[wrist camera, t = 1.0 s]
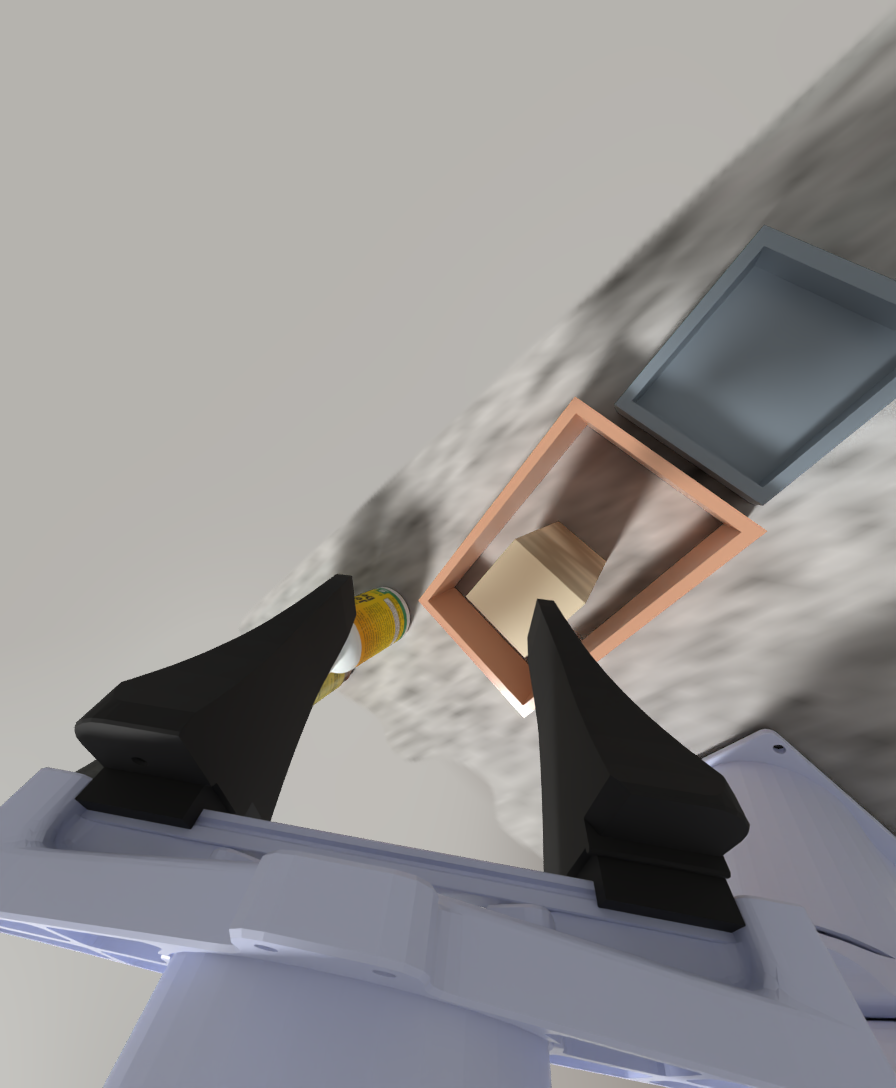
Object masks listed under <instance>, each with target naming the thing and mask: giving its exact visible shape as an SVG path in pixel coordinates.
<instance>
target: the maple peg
mask: <svg viewBox="0 0 896 1088" xmlns="http://www.w3.org/2000/svg"><path fill="white" fill-rule="evenodd" d="M605 563H606V561H605V560H604V559H603V558H601V557H600V556H599V555H598V554H597V553H596V552H594V551H593V550H592V549H591V548H590V547H588V546H587V545H586V544H585V543H584V542H583V541H581V540H580V539H579V538H578V537H577V536H576V535H574V534H573V533H572V532H571V531H570V530H568V529H567V528H566V527H565V526H564V525H563V524H561V523H560V522H559V521H558V522H555V523H553V524H550V525H548V526H546V527H543V528H541V529H538V530H536V531H534V532H531V533H529V534H526V535H524V536H522V537H519V538H517V539H515V540H514V541H513V542H512V543H511V545H510V546H509V547H508V548H507V549H506V550H505V552H504V553H503V554H502V555H501V556H500V557H499V559H498V560H497V561H496V562H495V563H494V564H493V565H492V567H491V568H490V569H489V570H488V571H487V572H486V574H485V575H484V576H483V577H482V578H481V579H480V581H479V582H478V583H477V584H476V585H475V586H474V588H473V589H472V590H471V591H470V592H469V593H468V595H467V596H466V597H467V598H468V599H469V600H470V601H471V602H472V604H473V605H474V606H475V607H476V608H477V609H478V610H479V611H480V612H481V613H482V614H483V615H484V616H485V617H486V618H487V619H488V620H489V621H490V622H491V623H492V624H493V625H494V626H495V627H496V628H497V630H498V631H499V632H500V633H501V634H502V635H503V636H504V637H505V638H506V639H507V640H508V641H509V642H510V643H511V644H512V645H513V646H514V647H515V648H516V649H517V650H518V651H519V652H520V653H521V654H522V656H523V657H524V658H525V657H526V656H527V655H528V644H527V637H528V633H529V629H530V625H531V621H532V617H533V613H534V609H535V605H536V601H537V599H545V600H553V601H554V602H555V603H556V604H557V606H558V608H559V609H560V611H561V612H562V614H563V616H564V617H565V619H566V620H568V619H569V618H570V617H571V616H572V615H573V614H574V613H575V612H576V611H578V610H579V609H580V608H581V607H582V606H583V605H584V604H585V603H586V601H587V599H588V597H589V595H590V593H591V591H592V589H593V587H594V585H595V583H596V581H597V579H598V577H599V575H600V573H601V571H602V569H603V567H604V565H605Z"/></svg>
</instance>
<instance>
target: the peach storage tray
mask: <svg viewBox="0 0 896 1088" xmlns="http://www.w3.org/2000/svg"><path fill="white" fill-rule="evenodd" d="M587 425H588V426H589V427H590V428H592V429H593V430H595V431H596V432H597V433H599V434H600V435H602V436H603V437H604V438H606V439H607V440H608V441H610V442H611V443H613V444H614V445H615V446H617V447H618V448H620V449H621V450H622V451H624V452H625V453H626V454H628V455H629V456H631V457H632V458H633V459H635V460H636V461H638V462H639V463H640V464H642V465H643V466H644V467H646V468H647V469H649V470H650V471H651V472H653V473H654V474H656V475H657V476H658V477H660V478H661V479H662V480H664V481H665V482H667V483H668V484H669V485H671V486H672V487H674V488H675V489H676V490H678V491H679V492H680V493H682V494H683V495H685V496H686V497H687V498H689V499H690V500H692V501H693V502H694V503H696V504H697V505H698V506H700V507H701V508H703V509H704V510H705V511H707V512H708V513H710V514H711V515H712V516H714V517H715V518H716V519H718V520H719V521H721V522H722V523H723V524H722V525H721V526H720V527H719V528H717V529H716V530H715V531H714V532H713V533H711V534H710V535H709V536H708V537H707V538H705V539H704V540H703V541H702V542H701V543H699V544H698V545H697V546H696V547H695V548H693V549H692V550H691V551H690V552H689V553H687V554H686V555H685V556H684V557H682V558H681V559H680V560H679V561H678V562H676V563H675V564H674V565H673V566H672V567H670V568H669V569H668V570H667V571H666V572H664V573H663V574H662V575H661V576H660V577H658V578H657V579H656V580H655V581H653V582H652V583H651V584H650V585H649V586H647V587H646V588H645V589H644V590H643V591H641V592H640V593H639V594H638V595H637V596H635V597H634V598H633V599H632V600H631V601H629V602H628V603H627V604H626V605H625V606H623V607H622V608H621V609H620V610H618V611H617V612H616V613H615V614H614V615H612V616H611V617H610V618H609V619H608V620H606V621H605V622H604V623H603V624H602V625H600V626H599V627H598V628H597V629H596V630H594V631H593V632H592V633H591V634H589V635H588V636H587V637H586V638H585V639H583V640H582V641H581V642H582V643H583V645H584V646H585V648H586V649H587V650H588V652H589V653H590V654H591V655H592V657H593V658H594V659H595V660H596V662H597V661H599V660H600V659H601V658H603V657H604V656H605V655H607V654H608V653H609V652H610V651H612V650H613V649H614V648H616V647H617V646H618V645H620V644H621V643H622V642H623V641H625V640H626V639H627V638H629V637H630V636H631V635H633V634H634V633H635V632H637V631H638V630H639V629H640V628H642V627H643V626H644V625H646V624H647V623H648V622H650V621H651V620H652V619H653V618H655V617H656V616H657V615H659V614H660V613H661V612H663V611H664V610H665V609H667V608H668V607H669V606H670V605H672V604H673V603H674V602H676V601H677V600H678V599H680V598H681V597H682V596H683V595H685V594H686V593H687V592H689V591H690V590H691V589H693V588H694V587H695V586H697V585H698V584H699V583H700V582H702V581H703V580H704V579H706V578H707V577H708V576H710V575H711V574H712V573H713V572H715V571H716V570H717V569H719V568H720V567H721V566H723V565H724V564H725V563H726V562H728V561H729V560H730V559H732V558H733V557H734V556H736V555H737V554H738V553H740V552H741V551H742V550H743V549H745V548H746V547H747V546H749V545H750V544H751V543H753V542H754V541H755V540H756V539H758V538H759V537H760V536H762V535H763V534H764V533H766V532H767V531H766V530H765V529H763V528H762V527H761V526H759V525H758V524H756V523H755V522H753V521H752V520H751V519H749V518H748V517H746V516H745V515H743V514H742V513H741V512H739V511H738V510H736V509H735V508H733V507H732V506H731V505H729V504H728V503H726V502H725V501H724V500H722V499H721V498H719V497H718V496H716V495H715V494H714V493H712V492H711V491H709V490H708V489H706V488H705V487H704V486H702V485H701V484H699V483H698V482H696V481H695V480H694V479H692V478H691V477H689V476H688V475H686V474H685V473H684V472H682V471H681V470H679V469H678V468H676V467H675V466H674V465H672V464H671V463H669V462H668V461H666V460H665V459H664V458H662V457H661V456H659V455H658V454H656V453H655V452H654V451H652V450H651V449H649V448H648V447H646V446H645V445H644V444H642V443H641V442H639V441H638V440H636V439H635V438H634V437H632V436H631V435H629V434H628V433H626V432H625V431H624V430H622V429H621V428H619V427H618V426H616V425H615V424H614V423H612V422H611V421H609V420H608V419H607V418H605V417H604V416H602V415H601V414H599V413H598V412H597V411H595V410H594V409H592V408H591V407H589V406H588V405H587V404H585V403H584V402H582V401H581V400H579V399H578V398H577V397H574V398H573V400H572V401H571V402H570V404H569V405H568V406H567V408H566V409H565V410H564V411H563V413H562V414H561V415H560V417H559V418H558V419H557V421H556V422H555V423H554V424H553V426H552V427H551V428H550V430H549V431H548V432H547V434H546V435H545V436H544V437H543V439H542V440H541V441H540V443H539V444H538V445H537V447H536V448H535V449H534V450H533V452H532V453H531V454H530V456H529V457H528V458H527V460H526V461H525V462H524V464H523V465H522V466H521V467H520V469H519V470H518V471H517V473H516V474H515V475H514V477H513V478H512V479H511V480H510V482H509V483H508V484H507V486H506V487H505V488H504V490H503V491H502V492H501V493H500V495H499V496H498V497H497V499H496V500H495V501H494V503H493V504H492V505H491V506H490V508H489V509H488V510H487V512H486V513H485V514H484V516H483V517H482V518H481V519H480V521H479V522H478V523H477V525H476V526H475V527H474V529H473V530H472V531H471V533H470V534H469V535H468V536H467V538H466V539H465V540H464V542H463V543H462V544H461V546H460V547H459V548H458V549H457V551H456V552H455V553H454V555H453V556H452V557H451V559H450V560H449V561H448V562H447V564H446V565H445V566H444V568H443V569H442V570H441V572H440V573H439V574H438V575H437V577H436V578H435V579H434V581H433V582H432V583H431V585H430V586H429V587H428V589H427V590H426V591H425V592H424V594H423V595H422V596H421V598H420V599H419V600H418V601H419V602H420V603H421V604H422V605H423V606H424V607H425V608H426V610H427V611H428V612H429V613H430V614H431V615H432V616H433V617H434V618H435V620H436V621H437V622H438V623H439V624H440V625H441V626H442V627H443V628H444V630H445V631H446V632H447V633H448V634H449V635H450V636H451V637H452V638H453V640H454V641H455V642H456V643H457V644H458V645H459V646H460V647H461V648H462V650H463V651H464V652H465V653H466V654H467V655H468V656H469V657H470V658H471V660H472V661H473V662H474V663H475V664H476V665H477V666H478V667H479V668H480V670H481V671H482V672H483V673H484V674H485V675H486V676H487V677H488V678H489V680H490V681H491V682H492V683H493V684H494V685H495V686H496V687H497V688H498V690H499V691H500V692H501V693H502V694H503V695H504V696H505V697H506V699H507V700H508V701H509V702H510V703H511V704H512V705H513V706H514V707H515V709H516V710H517V711H518V712H519V713H520V714H521V715H522V716H523V717H526V716H527V715H528V714H530V713H531V712H532V711H534V710H535V703H534V697H533V691H532V684H531V678H530V671H529V665H528V663H527V662H526V661H525V660H524V659H523V658H522V657H521V656H520V655H519V654H518V653H517V652H516V651H515V650H514V649H513V648H512V647H511V646H510V645H509V644H508V643H507V642H506V640H505V639H504V638H503V637H502V636H501V635H500V634H499V633H498V632H497V631H496V630H495V629H494V628H493V627H492V626H491V625H490V624H489V623H488V622H487V621H486V620H485V619H484V617H483V616H482V615H481V614H480V613H479V612H478V611H477V610H476V609H475V608H474V607H473V606H472V605H471V604H470V603H469V602H468V601H467V600H466V599H465V598H464V597H463V595H462V594H461V593H460V592H459V591H458V590H457V589H456V588H455V586H456V584H457V583H458V582H459V581H460V579H461V578H462V577H463V576H464V575H465V573H466V572H467V571H468V570H469V569H470V567H471V566H472V565H473V564H474V562H475V561H476V560H477V559H478V558H479V556H480V555H481V554H482V553H483V551H484V550H485V549H486V548H487V547H488V545H489V544H490V543H491V542H492V540H493V539H494V538H495V537H496V536H497V534H498V533H499V532H500V531H501V529H502V528H503V527H504V526H505V525H506V523H507V522H508V521H509V520H510V518H511V517H512V516H513V515H514V514H515V512H516V511H517V510H518V509H519V508H520V506H521V505H522V504H523V503H524V501H525V500H526V499H527V498H528V497H529V495H530V494H531V493H532V492H533V490H534V489H535V488H536V487H537V486H538V484H539V483H540V482H541V481H542V479H543V478H544V477H545V476H546V475H547V473H548V472H549V471H550V470H551V468H552V467H553V466H554V465H555V464H556V462H557V461H558V460H559V459H560V458H561V456H562V455H563V454H564V453H565V451H566V450H567V449H568V448H569V447H570V445H571V444H572V443H573V442H574V440H575V439H576V438H577V437H578V436H579V434H580V433H581V432H582V431H583V429H584V428H585V427H586V426H587Z"/></svg>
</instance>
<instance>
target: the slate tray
mask: <svg viewBox="0 0 896 1088" xmlns="http://www.w3.org/2000/svg"><path fill="white" fill-rule="evenodd" d="M895 398H896V281H895V280H893V279H890V278H888V277H886V276H883V275H881V274H879V273H876V272H874V271H872V270H869V269H867V268H865V267H862V266H860V265H858V264H855V263H853V262H851V261H848V260H846V259H844V258H841V257H839V256H836V255H834V254H832V253H829V252H827V251H825V250H822V249H820V248H818V247H815V246H813V245H811V244H808V243H806V242H804V241H801V240H799V239H797V238H794V237H792V236H790V235H787V234H785V233H783V232H780V231H778V230H775V229H773V228H771V227H768V226H766V225H764V226H763V227H762V228H761V229H760V230H759V232H758V233H757V234H756V235H755V236H754V238H753V239H752V240H751V241H750V242H749V244H748V245H747V246H746V247H745V248H744V250H743V251H742V252H741V253H740V254H739V256H738V257H737V258H736V259H735V260H734V262H733V263H732V264H731V265H730V266H729V268H728V269H727V270H726V271H725V272H724V274H723V275H722V276H721V277H720V278H719V280H718V281H717V282H716V283H715V284H714V286H713V287H712V288H711V289H710V290H709V292H708V293H707V294H706V295H705V296H704V298H703V299H702V300H701V301H700V302H699V304H698V305H697V306H696V307H695V308H694V310H693V311H692V312H691V313H690V314H689V316H688V317H687V318H686V319H685V320H684V322H683V323H682V324H681V325H680V326H679V328H678V329H677V330H676V331H675V332H674V333H673V335H672V336H671V337H670V338H669V339H668V341H667V342H666V343H665V344H664V345H663V347H662V348H661V349H660V350H659V351H658V353H657V354H656V355H655V356H654V357H653V359H652V360H651V361H650V362H649V363H648V365H647V366H646V367H645V368H644V369H643V371H642V372H641V373H640V374H639V375H638V377H637V378H636V379H635V380H634V381H633V383H632V384H631V385H630V386H629V387H628V389H627V390H626V391H625V392H624V393H623V395H622V396H621V397H620V398H619V399H618V401H617V402H616V403H615V404H614V405H615V408H616V411H617V412H618V413H619V414H621V415H622V416H624V417H625V418H627V419H628V420H630V421H631V422H633V423H634V424H635V425H637V426H638V427H640V428H641V429H643V430H644V431H646V432H647V433H649V434H650V435H652V436H653V437H654V438H656V439H657V440H659V441H660V442H662V443H663V444H665V445H666V446H668V447H669V448H670V449H672V450H673V451H675V452H676V453H678V454H679V455H681V456H682V457H684V458H685V459H686V460H688V461H689V462H691V463H692V464H694V465H695V466H697V467H698V468H700V469H701V470H703V471H704V472H705V473H707V474H708V475H710V476H711V477H713V478H714V479H716V480H717V481H719V482H720V483H721V484H723V485H724V486H726V487H727V488H729V489H730V490H732V491H733V492H735V493H736V494H737V495H739V496H740V497H742V498H743V499H745V500H746V501H748V502H749V503H751V504H756V505H762V506H763V505H764V504H765V503H767V502H768V501H769V500H770V499H772V498H773V497H774V496H775V495H777V494H778V493H779V492H780V491H782V490H783V489H784V488H785V487H786V486H788V485H789V484H790V483H791V482H793V481H794V480H795V479H796V478H798V477H799V476H800V475H801V474H803V473H804V472H805V471H806V470H808V469H809V468H810V467H811V466H812V465H814V464H815V463H816V462H817V461H819V460H820V459H821V458H822V457H824V456H825V455H826V454H827V453H829V452H830V451H831V450H832V449H834V448H835V447H836V446H837V445H838V444H840V443H841V442H842V441H843V440H845V439H846V438H847V437H848V436H850V435H851V434H852V433H853V432H855V431H856V430H857V429H858V428H860V427H861V426H862V425H863V424H865V423H866V422H867V421H868V420H869V419H871V418H872V417H873V416H874V415H876V414H877V413H878V412H879V411H881V410H882V409H883V408H884V407H886V406H887V405H888V404H889V403H891V402H892V401H893V400H894V399H895Z"/></svg>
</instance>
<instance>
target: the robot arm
mask: <svg viewBox="0 0 896 1088" xmlns="http://www.w3.org/2000/svg"><path fill="white" fill-rule="evenodd" d="M355 618H356V606H355V598H354V590H353V581H352V576H348V575H340V574H336V575H335V576H333V577H332V578H331V579H329V580H328V581H326V582H325V583H324V584H322V585H321V586H319V587H318V588H317V589H315V590H314V591H312V592H311V593H310V594H308V595H307V596H305V597H304V598H302V599H301V600H300V601H298V602H297V603H295V604H294V605H292V606H291V607H289V608H288V609H286V610H284V611H283V612H281V613H280V614H278V615H277V616H275V617H273V618H272V619H270V620H269V621H267V622H265V623H263V624H262V625H260V626H258V627H256V628H255V629H253V630H251V631H249V632H247V633H245V634H243V635H241V636H239V637H237V638H235V639H233V640H231V641H229V642H227V643H225V644H222V645H220V646H219V647H216V648H214V649H212V650H209V651H207V652H205V653H202V654H200V655H197V656H195V657H193V658H190V659H187V660H185V661H182V662H180V663H177V664H174V665H172V666H169V667H166V668H163V669H160V670H157V671H154V672H151V673H148V674H145V675H142V676H139V677H136V678H133V679H130V680H127V681H123V682H121V683H120V684H119V685H118V686H116V687H115V688H114V689H113V690H112V691H111V692H110V693H109V694H107V695H106V696H105V697H104V698H103V699H102V700H101V701H100V702H99V703H97V704H96V705H95V706H94V707H93V708H92V709H91V710H90V711H89V712H87V713H86V714H85V715H84V716H83V717H82V718H81V719H80V720H79V721H77V722H76V725H75V734H76V737H77V738H78V740H79V741H80V742H81V744H82V745H83V746H84V747H85V748H86V749H87V750H88V751H89V752H90V753H91V754H92V755H93V756H94V757H95V758H96V759H97V760H98V761H99V762H100V764H101V765H102V766H103V767H104V768H103V769H102V770H101V771H100V772H99V773H98V774H97V775H96V776H95V777H94V778H93V779H92V778H91V777H89V776H86V775H84V774H81V773H76V772H71V771H65V770H59V769H54V768H48V767H46V768H42V769H41V770H40V771H38V772H37V773H36V774H35V775H34V776H33V777H32V778H31V779H30V780H29V781H28V782H26V783H25V784H24V785H23V786H22V787H21V788H20V789H19V790H18V791H17V792H16V793H15V794H14V795H12V796H11V797H10V798H9V799H8V800H7V801H6V802H5V803H4V804H3V805H2V806H1V807H0V933H4V934H8V935H13V936H17V937H21V938H25V939H30V940H34V941H38V942H42V943H46V944H50V945H54V946H58V947H62V948H66V949H70V950H73V951H77V952H81V953H85V954H89V955H93V956H97V957H101V958H105V959H108V960H112V961H116V962H120V963H124V964H127V965H131V966H136V967H139V968H143V969H147V970H150V971H154V972H158V973H162V974H163V975H162V976H161V978H160V980H159V982H158V984H157V986H156V988H155V990H154V991H153V993H152V995H151V997H150V999H149V1001H148V1003H147V1005H146V1007H145V1008H144V1010H143V1012H142V1014H141V1016H140V1018H139V1020H138V1022H137V1024H136V1025H135V1027H134V1029H133V1031H132V1033H131V1035H130V1037H129V1039H128V1041H127V1042H126V1044H125V1046H124V1048H123V1050H122V1052H121V1054H120V1056H119V1057H118V1059H117V1062H116V1063H115V1065H114V1067H113V1069H112V1071H111V1072H110V1075H109V1076H108V1078H107V1080H106V1082H105V1084H104V1086H103V1088H552V1086H551V1071H550V1064H554V1065H559V1066H564V1067H569V1068H574V1069H579V1070H584V1071H589V1072H594V1073H599V1074H604V1075H609V1076H614V1077H619V1078H624V1079H629V1080H634V1081H639V1082H644V1083H649V1084H654V1085H659V1086H664V1087H669V1088H896V836H894V835H893V834H892V833H891V832H890V831H889V830H888V829H886V828H885V827H884V826H883V825H882V824H881V823H880V822H878V821H877V820H876V819H875V818H874V817H873V816H872V815H870V814H869V813H868V812H867V811H866V810H865V809H864V808H862V807H861V806H860V805H859V804H858V803H857V802H856V801H854V800H853V799H852V798H851V797H850V796H849V795H848V794H846V793H845V792H844V791H843V790H842V789H841V788H840V787H838V786H837V785H836V784H835V783H834V782H833V781H832V780H830V779H829V778H828V777H827V776H826V775H825V774H824V773H822V772H821V771H820V770H819V769H818V768H817V767H816V766H814V765H813V764H812V763H811V762H810V761H809V760H808V759H806V758H805V757H804V756H803V755H802V754H801V753H800V752H798V751H797V750H796V749H795V748H794V747H793V746H792V745H790V744H789V743H788V742H787V741H786V740H785V739H784V738H782V737H781V736H780V735H779V734H778V733H776V732H775V731H773V730H770V729H761V730H759V731H757V732H755V733H753V734H751V735H749V736H747V737H745V738H743V739H741V740H739V741H737V742H735V743H733V744H731V745H729V746H727V747H725V748H723V749H721V750H718V751H716V752H714V753H712V754H710V755H708V756H706V757H704V758H702V759H700V758H699V757H698V756H696V755H695V754H694V753H692V752H691V751H690V750H688V749H687V748H686V747H684V746H683V745H682V744H681V743H679V742H678V741H677V740H676V739H675V738H673V737H672V736H671V735H670V734H669V733H667V732H666V731H665V730H664V729H663V728H661V727H660V726H659V725H658V724H657V723H656V722H655V721H653V720H652V719H651V718H650V717H649V716H648V715H647V714H646V713H645V712H644V711H643V710H641V709H640V708H639V707H638V706H637V705H636V704H635V703H634V702H633V701H632V700H631V699H630V698H629V697H628V696H627V695H626V694H625V693H624V692H623V691H622V690H621V689H620V688H619V687H618V686H617V685H616V684H615V683H614V681H613V680H612V679H611V678H610V677H609V676H608V675H607V674H606V673H605V671H604V670H603V669H602V668H601V667H600V665H599V664H598V663H597V662H596V660H595V659H594V658H593V657H592V655H591V654H590V653H589V652H588V650H587V649H586V648H585V646H584V645H583V643H582V642H581V641H580V639H579V638H578V636H577V635H576V634H575V632H574V631H573V629H572V628H571V626H570V625H569V623H568V622H567V620H566V619H565V617H564V616H563V614H562V612H561V611H560V609H559V608H558V606H557V604H556V603H555V602H554V601H553V600H545V599H537V601H536V605H535V609H534V613H533V617H532V621H531V625H530V629H529V633H528V637H527V644H528V665H529V671H530V678H531V684H532V691H533V697H534V703H535V710H536V716H537V723H538V732H539V747H540V764H541V786H542V813H543V857H544V872H541V871H535V870H530V869H525V868H519V867H514V866H508V865H503V864H498V863H492V862H487V861H481V860H476V859H471V858H465V857H459V856H454V855H449V854H444V853H438V852H433V851H428V850H421V849H417V848H411V847H406V846H401V845H395V844H389V843H384V842H379V841H374V840H368V839H362V838H358V837H352V836H347V835H341V834H336V833H331V832H325V831H319V830H314V829H309V828H303V827H298V826H293V825H287V824H282V823H277V822H271V817H272V815H273V812H274V809H275V806H276V803H277V800H278V797H279V794H280V791H281V788H282V785H283V782H284V779H285V776H286V774H287V771H288V768H289V766H290V763H291V760H292V757H293V755H294V752H295V749H296V746H297V744H298V741H299V739H300V736H301V734H302V731H303V728H304V726H305V724H306V721H307V719H308V716H309V714H310V711H311V709H312V707H313V704H314V702H315V700H316V697H317V695H318V693H319V691H320V689H321V687H322V685H323V683H324V682H325V680H326V678H327V676H328V674H329V672H330V670H331V669H332V667H333V665H334V663H335V661H336V659H337V657H338V656H339V654H340V652H341V650H342V648H343V646H344V644H345V642H346V640H347V638H348V636H349V634H350V631H351V629H352V626H353V623H354V620H355ZM774 745H782V746H783V748H782V749H776V748H774V747H773V746H774ZM482 907H484V908H482Z"/></svg>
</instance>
